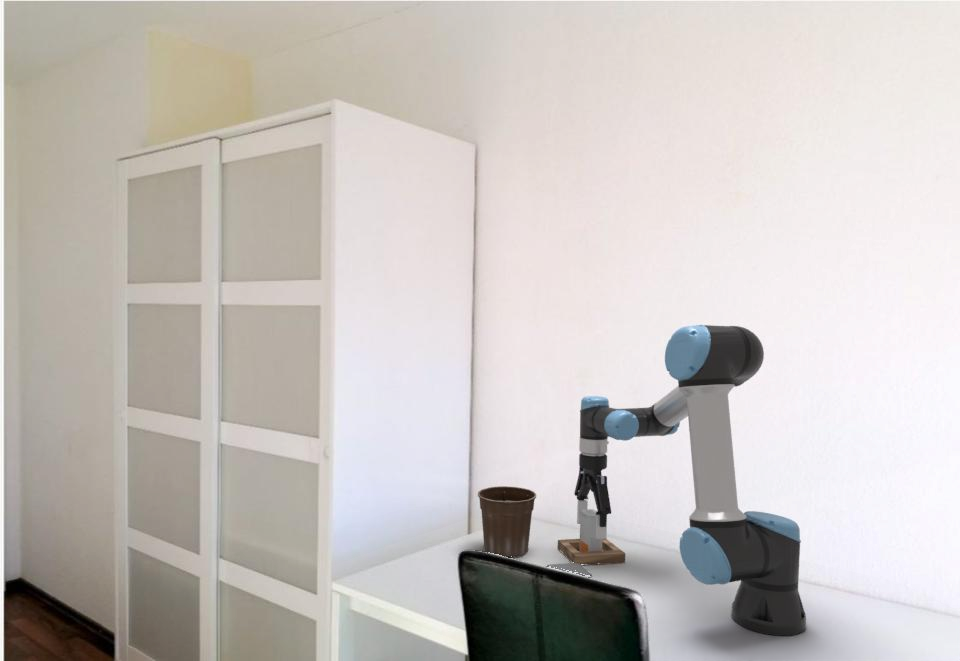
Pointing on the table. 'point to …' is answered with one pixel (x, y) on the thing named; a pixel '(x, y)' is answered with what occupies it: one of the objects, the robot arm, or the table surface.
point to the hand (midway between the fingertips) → (591, 530)
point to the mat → (571, 568)
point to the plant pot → (506, 519)
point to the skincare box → (589, 532)
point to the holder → (594, 557)
